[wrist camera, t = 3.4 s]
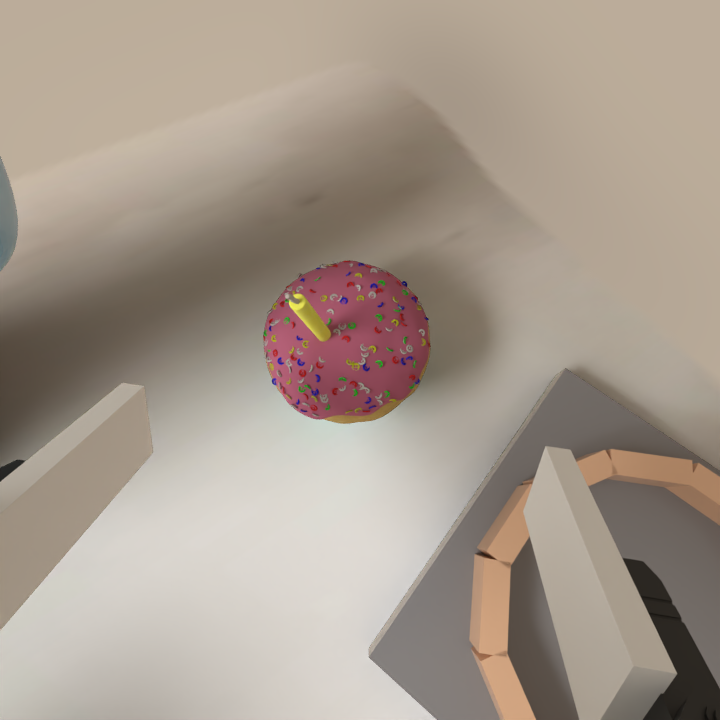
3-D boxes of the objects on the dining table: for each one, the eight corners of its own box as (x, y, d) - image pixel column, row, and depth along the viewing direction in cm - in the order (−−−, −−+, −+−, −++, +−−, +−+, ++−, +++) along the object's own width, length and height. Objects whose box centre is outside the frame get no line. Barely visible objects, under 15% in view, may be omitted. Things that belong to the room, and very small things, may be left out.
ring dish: (368, 648, 23) (368, 671, 19) (555, 375, 27) (581, 356, 24) (709, 957, 19) (781, 1052, 16) (864, 584, 23) (947, 596, 20)
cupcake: (335, 467, 26) (307, 432, 14) (252, 355, 28) (170, 247, 16) (450, 376, 27) (509, 279, 16) (363, 277, 29) (358, 128, 18)
